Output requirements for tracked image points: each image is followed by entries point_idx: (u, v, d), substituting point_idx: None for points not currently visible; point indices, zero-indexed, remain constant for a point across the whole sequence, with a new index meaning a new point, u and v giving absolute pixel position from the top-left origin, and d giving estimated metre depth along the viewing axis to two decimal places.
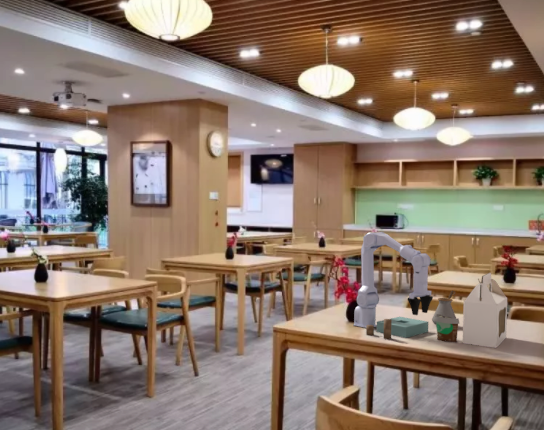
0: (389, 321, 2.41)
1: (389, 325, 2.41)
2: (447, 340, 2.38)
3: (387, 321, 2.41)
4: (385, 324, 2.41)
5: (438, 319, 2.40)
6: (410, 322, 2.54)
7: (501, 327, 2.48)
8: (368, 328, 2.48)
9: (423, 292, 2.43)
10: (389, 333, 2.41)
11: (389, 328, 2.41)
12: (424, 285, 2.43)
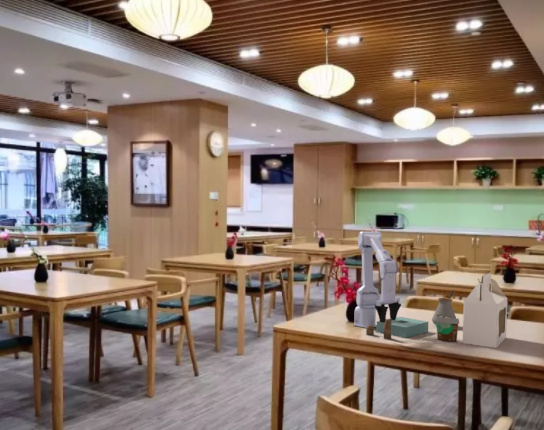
0: (389, 321, 2.41)
1: (389, 325, 2.41)
2: (447, 340, 2.38)
3: (387, 321, 2.41)
4: (385, 324, 2.41)
5: (438, 319, 2.40)
6: (410, 322, 2.54)
7: (501, 327, 2.48)
8: (368, 328, 2.48)
9: (390, 299, 2.39)
10: (389, 333, 2.41)
11: (389, 328, 2.41)
12: (391, 292, 2.40)
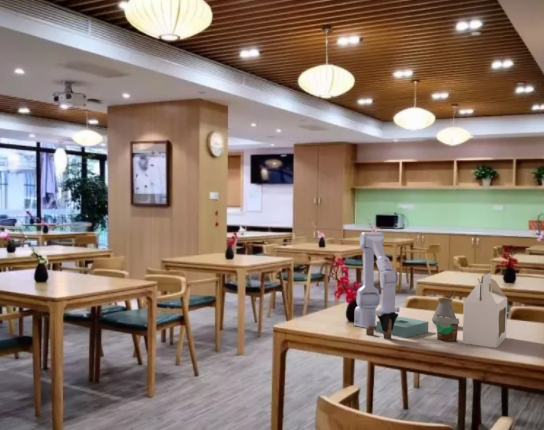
0: (389, 321, 2.41)
1: (389, 325, 2.41)
2: (447, 340, 2.38)
3: None
4: None
5: (438, 319, 2.40)
6: (410, 322, 2.54)
7: (501, 327, 2.48)
8: (368, 328, 2.48)
9: (390, 309, 2.40)
10: (389, 333, 2.41)
11: (389, 328, 2.41)
12: (391, 302, 2.40)
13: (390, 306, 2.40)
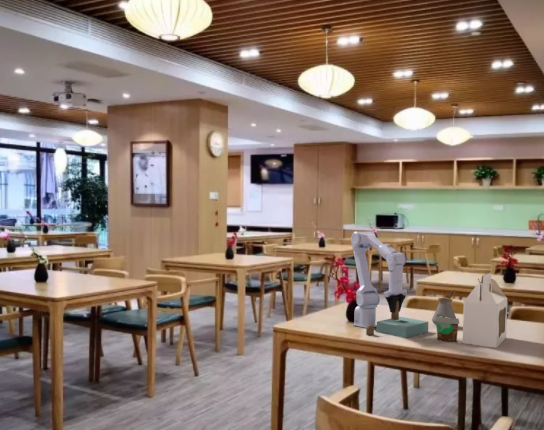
0: (397, 302, 2.47)
1: (397, 306, 2.47)
2: (447, 340, 2.38)
3: None
4: None
5: (438, 319, 2.40)
6: (410, 322, 2.54)
7: (501, 327, 2.48)
8: (368, 328, 2.48)
9: (398, 290, 2.46)
10: (397, 314, 2.47)
11: (397, 309, 2.47)
12: (399, 283, 2.46)
13: (398, 287, 2.46)
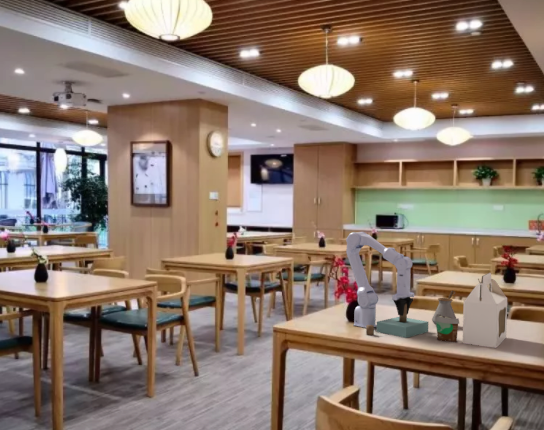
0: (405, 305, 2.54)
1: (405, 309, 2.54)
2: (447, 340, 2.38)
3: None
4: None
5: (438, 319, 2.40)
6: (410, 322, 2.54)
7: (501, 327, 2.48)
8: (368, 328, 2.48)
9: (406, 294, 2.53)
10: (405, 317, 2.54)
11: (405, 312, 2.54)
12: (407, 287, 2.53)
13: (405, 291, 2.53)
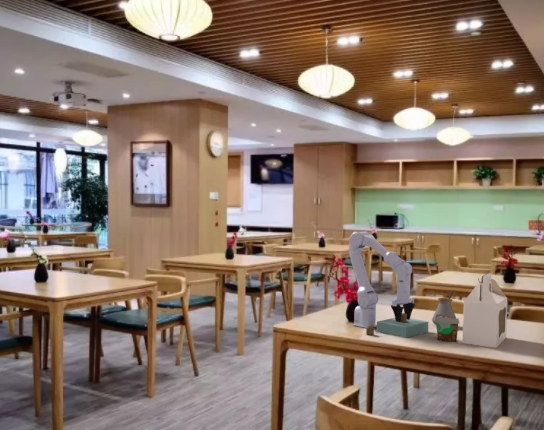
0: (404, 315, 2.54)
1: (404, 319, 2.54)
2: (447, 340, 2.38)
3: (402, 315, 2.54)
4: (401, 318, 2.54)
5: (438, 319, 2.40)
6: (410, 322, 2.54)
7: (501, 327, 2.48)
8: (368, 328, 2.48)
9: (405, 300, 2.53)
10: None
11: (404, 322, 2.54)
12: (406, 293, 2.53)
13: (405, 297, 2.53)
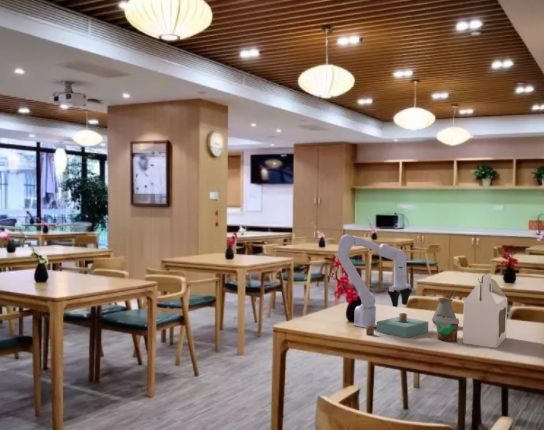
0: (404, 315, 2.54)
1: (404, 319, 2.54)
2: (447, 340, 2.38)
3: (402, 315, 2.54)
4: (401, 318, 2.54)
5: (438, 319, 2.40)
6: (410, 322, 2.54)
7: (501, 327, 2.48)
8: (368, 328, 2.48)
9: (402, 285, 2.61)
10: None
11: (404, 322, 2.54)
12: (403, 279, 2.61)
13: (402, 282, 2.61)
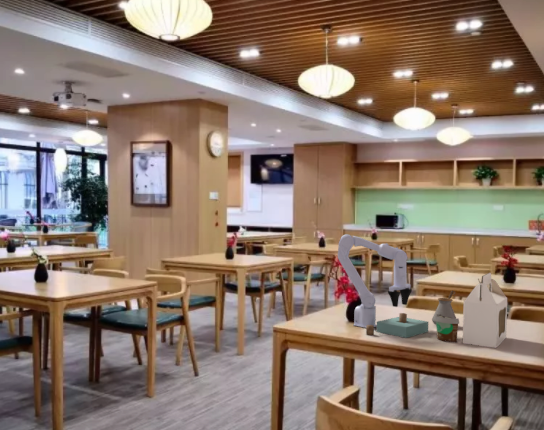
0: (404, 315, 2.54)
1: (404, 319, 2.54)
2: (447, 340, 2.38)
3: (402, 315, 2.54)
4: (401, 318, 2.54)
5: (438, 319, 2.40)
6: (410, 322, 2.54)
7: (501, 327, 2.48)
8: (368, 328, 2.48)
9: (402, 285, 2.61)
10: None
11: (404, 322, 2.54)
12: (403, 279, 2.61)
13: (402, 282, 2.61)
